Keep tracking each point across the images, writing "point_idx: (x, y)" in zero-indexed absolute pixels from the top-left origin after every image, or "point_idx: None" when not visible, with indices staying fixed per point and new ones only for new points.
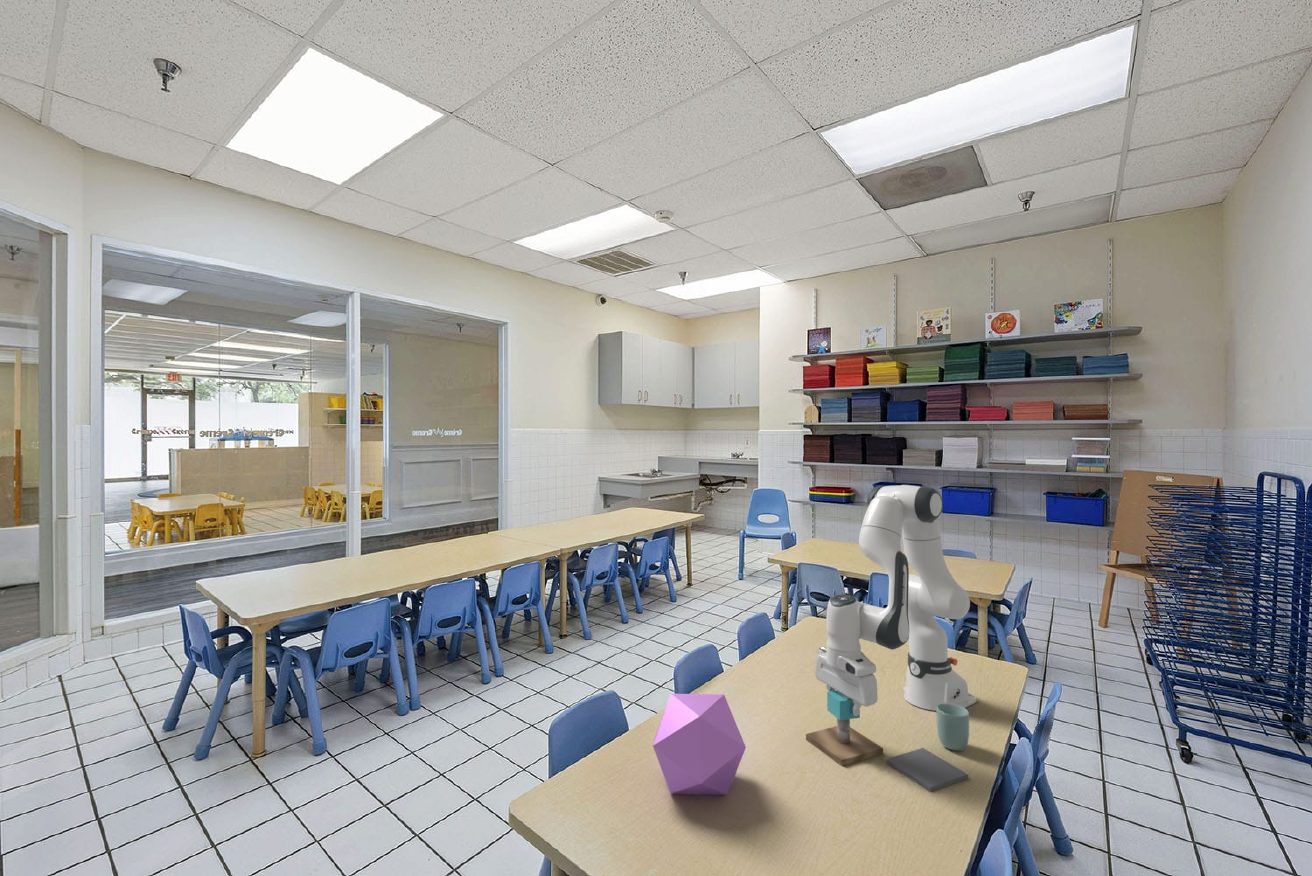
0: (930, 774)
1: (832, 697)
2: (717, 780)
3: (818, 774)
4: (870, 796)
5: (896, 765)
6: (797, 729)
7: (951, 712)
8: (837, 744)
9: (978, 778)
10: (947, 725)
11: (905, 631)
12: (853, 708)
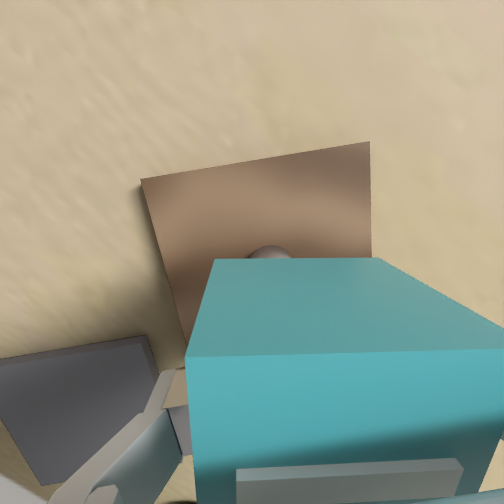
0: (43, 408)
1: (374, 332)
2: None
3: (103, 38)
4: None
5: (99, 349)
6: (436, 153)
7: None
8: (253, 230)
9: (48, 490)
10: None
11: None
12: (151, 416)
